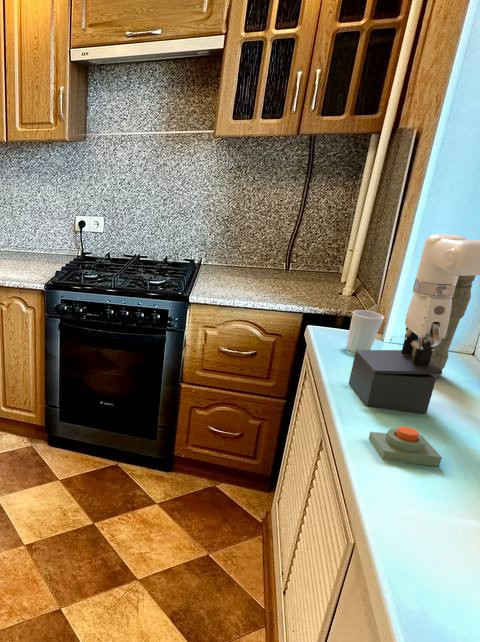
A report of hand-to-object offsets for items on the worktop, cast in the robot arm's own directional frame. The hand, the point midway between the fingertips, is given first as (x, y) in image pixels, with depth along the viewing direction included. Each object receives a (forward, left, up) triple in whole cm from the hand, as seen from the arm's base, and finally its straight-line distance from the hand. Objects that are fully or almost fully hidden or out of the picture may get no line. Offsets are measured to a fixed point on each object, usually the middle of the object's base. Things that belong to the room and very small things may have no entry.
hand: (414, 358), depth 129 cm
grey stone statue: (-12, -21, -11) cm, 27 cm away
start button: (+10, +27, -8) cm, 30 cm away
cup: (0, -34, -11) cm, 36 cm away
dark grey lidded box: (+4, 0, -11) cm, 12 cm away
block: (+10, +27, -11) cm, 31 cm away
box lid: (+4, 0, -1) cm, 4 cm away
